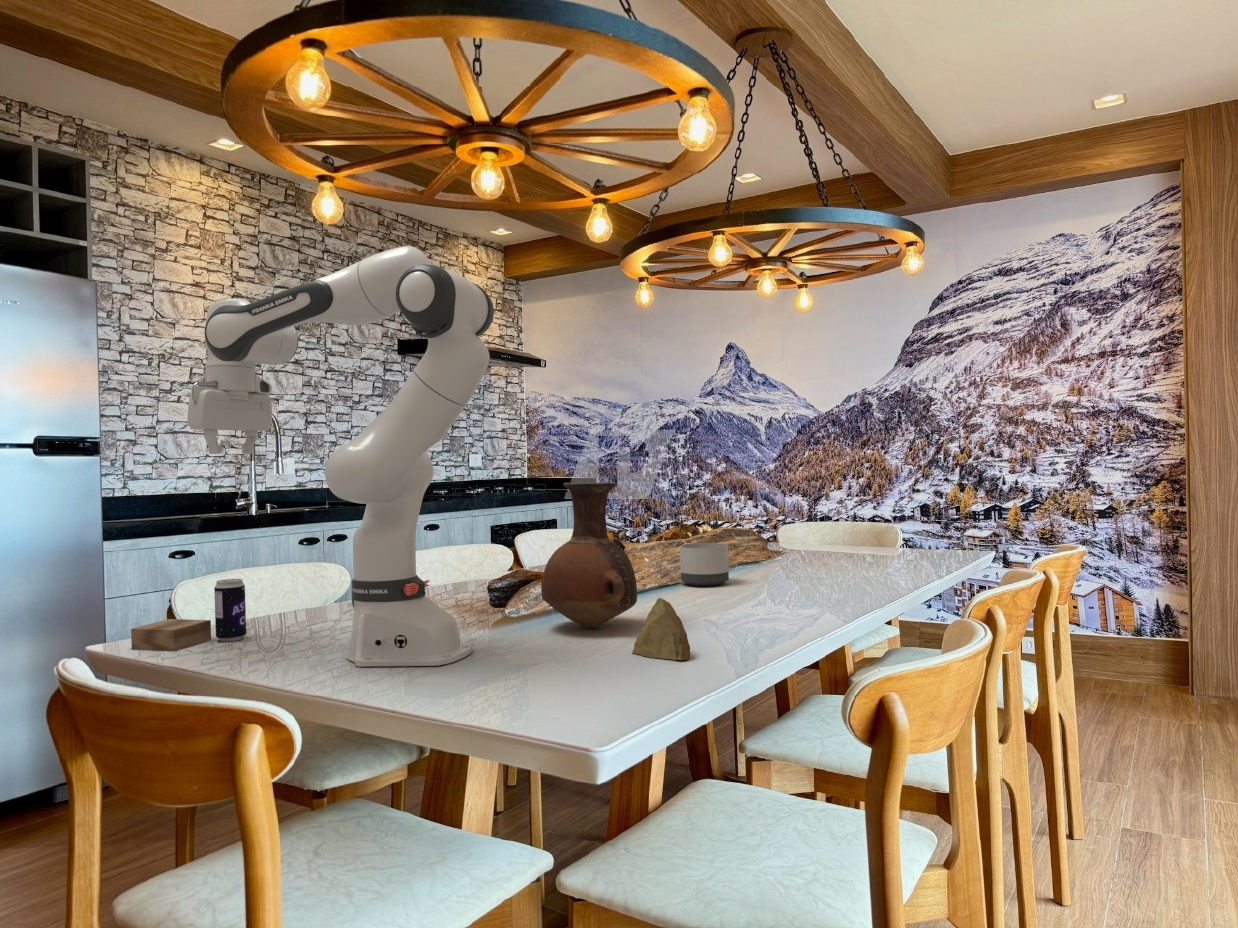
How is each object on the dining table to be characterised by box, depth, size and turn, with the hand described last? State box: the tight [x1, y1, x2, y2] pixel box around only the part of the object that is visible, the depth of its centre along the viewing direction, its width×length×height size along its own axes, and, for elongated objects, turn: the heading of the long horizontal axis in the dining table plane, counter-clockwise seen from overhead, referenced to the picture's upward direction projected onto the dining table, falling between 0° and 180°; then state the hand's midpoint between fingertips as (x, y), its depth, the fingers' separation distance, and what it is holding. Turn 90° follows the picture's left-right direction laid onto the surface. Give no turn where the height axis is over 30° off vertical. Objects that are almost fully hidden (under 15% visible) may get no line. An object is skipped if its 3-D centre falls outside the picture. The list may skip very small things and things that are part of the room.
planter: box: [679, 542, 730, 588], centre depth 234 cm, size 13×13×10 cm
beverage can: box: [213, 578, 247, 643], centre depth 177 cm, size 6×6×12 cm
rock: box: [631, 597, 691, 661], centre depth 152 cm, size 11×9×10 cm
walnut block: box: [130, 618, 212, 652], centre depth 174 cm, size 10×10×4 cm
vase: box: [540, 482, 638, 630], centre depth 180 cm, size 25×20×30 cm
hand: (231, 453), depth 171 cm, fingers open, 8 cm apart
